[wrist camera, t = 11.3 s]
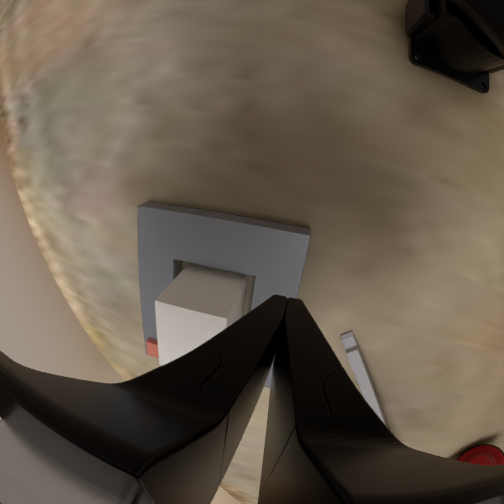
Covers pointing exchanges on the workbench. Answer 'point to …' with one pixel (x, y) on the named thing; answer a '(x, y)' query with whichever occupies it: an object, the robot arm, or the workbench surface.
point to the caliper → (362, 373)
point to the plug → (197, 308)
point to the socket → (214, 254)
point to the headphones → (483, 455)
